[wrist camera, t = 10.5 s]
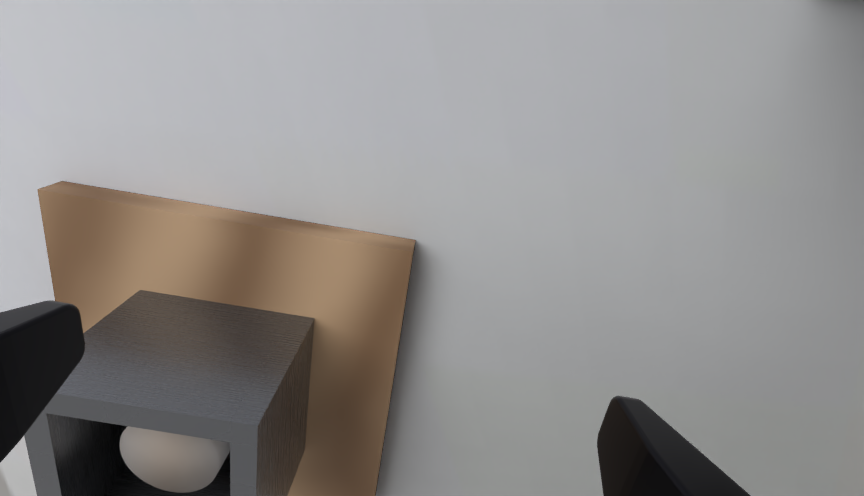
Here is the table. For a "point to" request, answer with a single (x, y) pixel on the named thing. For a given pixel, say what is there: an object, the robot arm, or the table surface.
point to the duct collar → (180, 397)
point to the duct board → (255, 288)
